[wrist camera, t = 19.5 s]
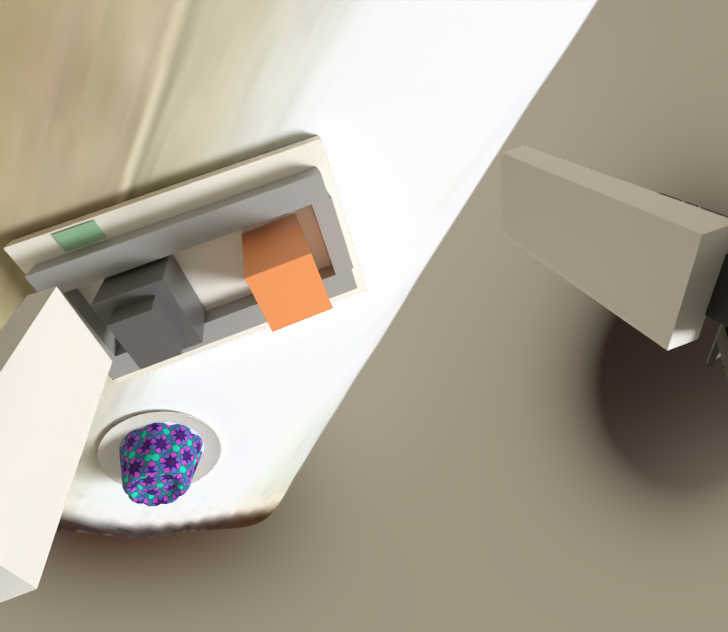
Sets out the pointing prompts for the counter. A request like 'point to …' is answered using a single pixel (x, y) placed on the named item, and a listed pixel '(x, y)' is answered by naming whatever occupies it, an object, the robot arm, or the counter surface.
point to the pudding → (158, 455)
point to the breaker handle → (151, 311)
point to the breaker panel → (214, 254)
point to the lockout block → (283, 273)
